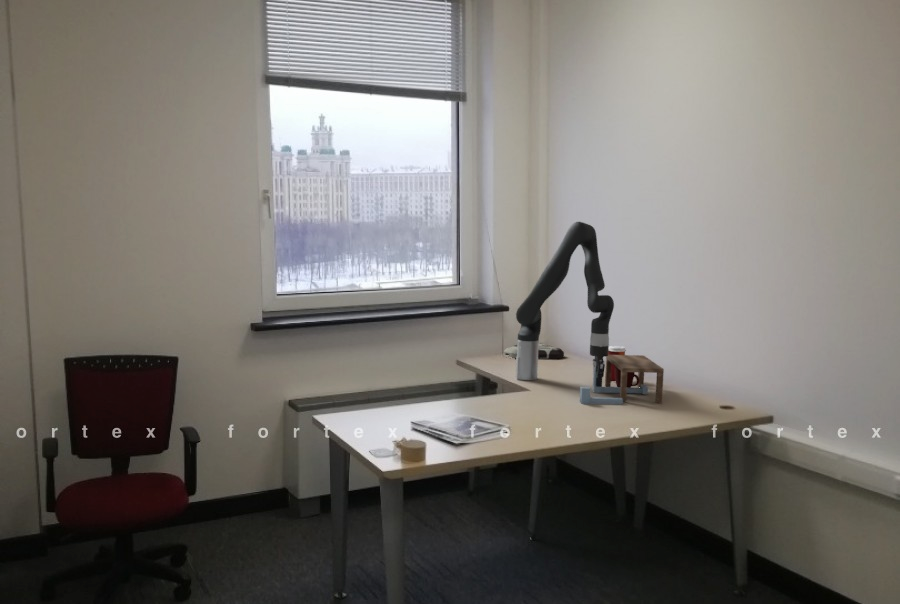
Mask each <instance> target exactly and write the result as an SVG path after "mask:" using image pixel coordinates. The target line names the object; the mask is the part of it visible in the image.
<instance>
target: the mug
mask: <svg viewBox="0 0 900 604" xmlns="http://www.w3.org/2000/svg"><path fill="white" fill-rule="evenodd" d="M635 373H636V372H627V387H638V384H639V377H638V374H635ZM634 378H635V379H636V382H635V384H633V382H634ZM615 380H616V382H615V386H616V387H620V383H621V370H619V369H618V368H617V367H616V366H615Z"/></svg>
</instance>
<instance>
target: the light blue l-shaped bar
mask: <svg viewBox="0 0 900 604" xmlns="http://www.w3.org/2000/svg"><path fill="white" fill-rule="evenodd" d="M597 370H598V369H597ZM599 374H601V372H599ZM592 375H593V377H592V392H593V393H597V394H598V393H599V394H601V393H611V394H612V393H613V394H614V393H615V394H620V387H617V386H611V387H605V386H603V385H602V386H601V387H597V386H596V372H595V367H594V371H592ZM648 391H649V386H647V384H644V385H640V388H639V387H633V386H631V387H627V391H626V394H642V395H648V394H649V392H648Z"/></svg>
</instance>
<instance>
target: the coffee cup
mask: <svg viewBox="0 0 900 604" xmlns="http://www.w3.org/2000/svg"><path fill="white" fill-rule="evenodd" d="M626 351H627V350H626V347H625V346H622V345H609V352H608V355H626ZM612 381H616V380H615V365H614V364H612V365H611V382H612Z"/></svg>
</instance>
